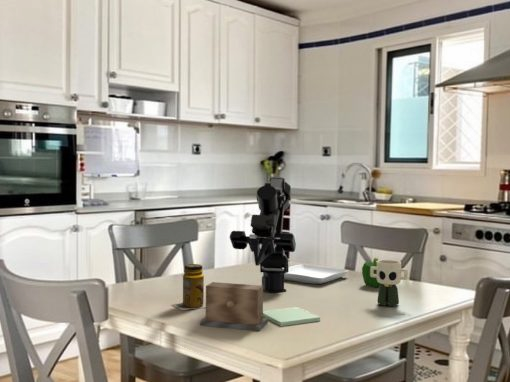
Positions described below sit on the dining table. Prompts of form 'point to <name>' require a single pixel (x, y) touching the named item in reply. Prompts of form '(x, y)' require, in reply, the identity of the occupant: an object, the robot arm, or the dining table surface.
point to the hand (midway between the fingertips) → (256, 264)
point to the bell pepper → (366, 274)
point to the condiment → (192, 288)
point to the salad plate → (313, 274)
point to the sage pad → (290, 316)
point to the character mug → (388, 280)
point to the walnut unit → (234, 306)
